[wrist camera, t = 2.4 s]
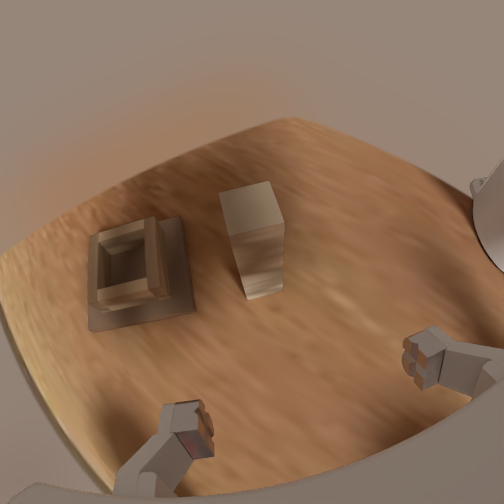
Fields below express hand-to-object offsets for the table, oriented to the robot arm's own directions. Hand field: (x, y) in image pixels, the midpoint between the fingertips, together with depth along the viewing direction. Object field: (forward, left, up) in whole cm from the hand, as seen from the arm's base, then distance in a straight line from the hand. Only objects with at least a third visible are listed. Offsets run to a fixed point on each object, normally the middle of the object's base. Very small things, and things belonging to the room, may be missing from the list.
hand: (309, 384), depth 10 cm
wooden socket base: (+10, -17, -16) cm, 25 cm away
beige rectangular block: (-2, -11, -16) cm, 19 cm away
